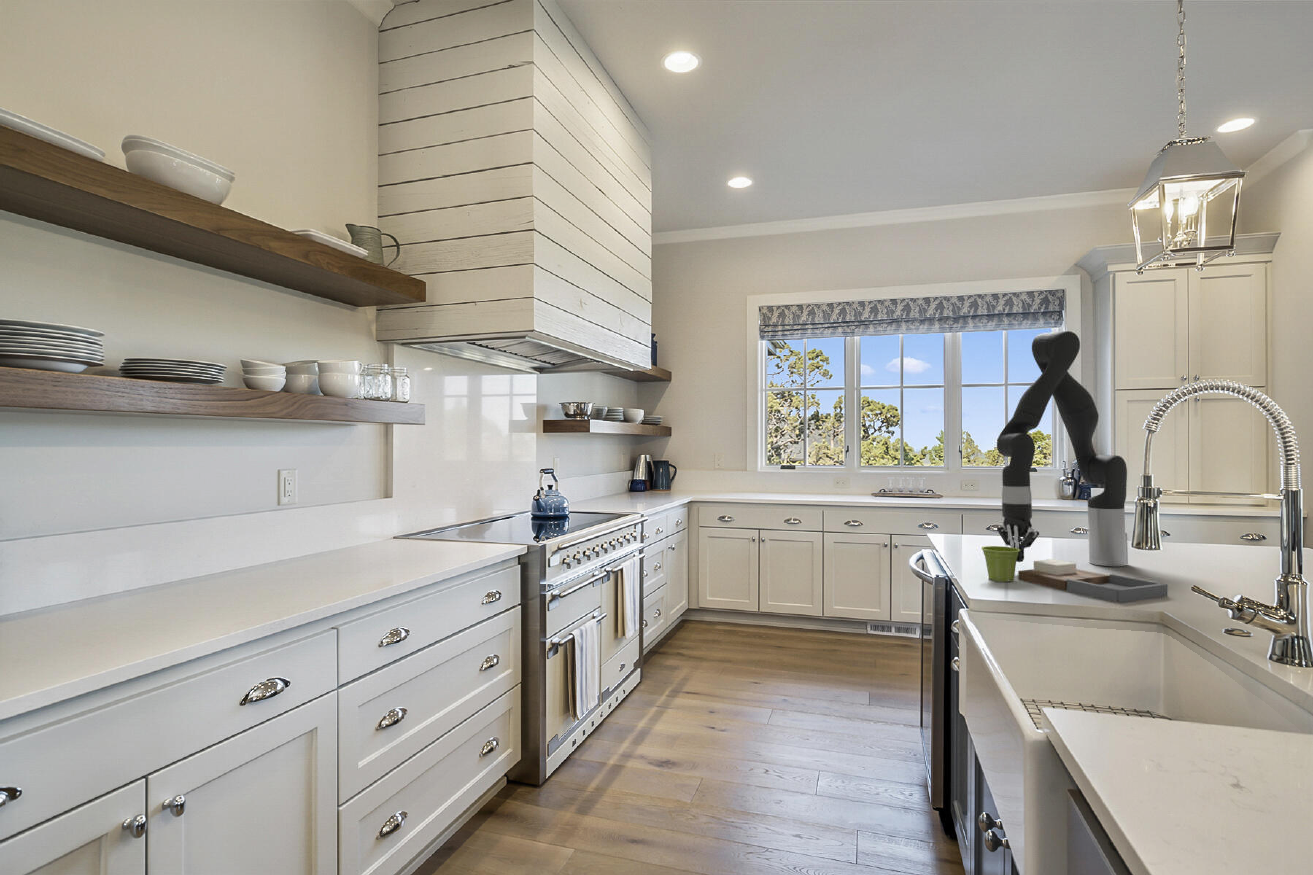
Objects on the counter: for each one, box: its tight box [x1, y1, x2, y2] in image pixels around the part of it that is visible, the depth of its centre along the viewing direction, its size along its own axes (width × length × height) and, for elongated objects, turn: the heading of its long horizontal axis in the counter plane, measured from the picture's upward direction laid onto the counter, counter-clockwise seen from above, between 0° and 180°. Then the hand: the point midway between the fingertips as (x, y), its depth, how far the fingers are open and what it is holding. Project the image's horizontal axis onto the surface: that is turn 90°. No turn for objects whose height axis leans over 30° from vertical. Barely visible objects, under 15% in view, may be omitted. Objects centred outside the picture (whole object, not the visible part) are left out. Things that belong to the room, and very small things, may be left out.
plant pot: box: [981, 545, 1020, 583], centre depth 178 cm, size 9×9×9 cm
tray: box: [1066, 573, 1169, 604], centre depth 160 cm, size 16×14×3 cm
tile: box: [1033, 559, 1077, 575], centre depth 176 cm, size 7×7×2 cm
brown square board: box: [1017, 568, 1110, 592], centre depth 174 cm, size 16×14×2 cm
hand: (1018, 561), depth 187 cm, fingers closed
